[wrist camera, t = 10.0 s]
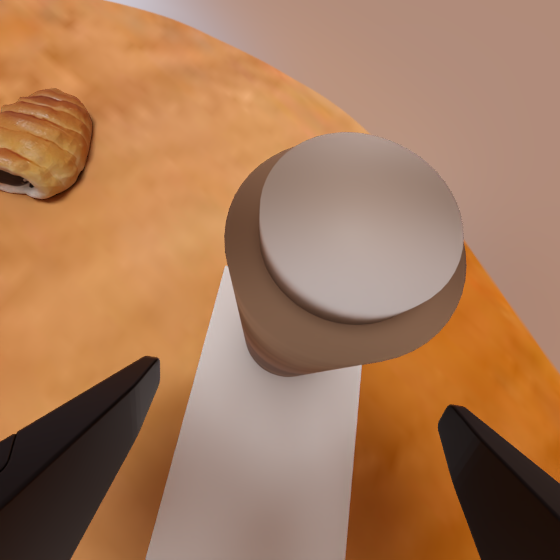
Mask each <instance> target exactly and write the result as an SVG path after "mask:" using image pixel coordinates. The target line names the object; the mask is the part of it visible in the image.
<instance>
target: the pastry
mask: <svg viewBox="0 0 560 560" xmlns="http://www.w3.org/2000/svg"><path fill="white" fill-rule="evenodd" d="M92 128H93V127H92V122H91V119H90V116H89V113H88V111H87V110H86V108H85V106H84V105H83V104H82V103H81V102H80V100H79V99H78V98H76V97H75V96H72V95H69V94H67V93H64V92H62V91H61V90H59V89H56V88H53V89H45V90H40V91H37V92H35V93H33V94H31V95H30V96H28V97H20V98H19V99H18V101H17V102H16V103H14V104H10V105H3V106H2V108H1V111H0V190H2V191H5V192H9V193H18V194H24V193H26V194H27V195H28V196H30V197H33V198H39V199H46V198H49V197H52V196H54V195H56V194H58V193H61V192H63V191H65V190H67V189H68V188H69V187H70V186H72V185H73V184H74V183H75V182H76V180H77V177H78V175H79V173H80V172H81V171H82V170H83V169H84V166H85V163H86V160H87V155H88V152H89V146H90V141H91V136H92Z"/></svg>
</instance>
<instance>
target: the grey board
mask: <svg viewBox="0 0 560 560" xmlns="http://www.w3.org/2000/svg"><path fill="white" fill-rule="evenodd" d="M361 368H362V365H358V366H352V367H346V368H341V369H335V370H329V371H323V372H317V373H312V374H306V375H300V376H294V377H283V376H277V375H274V374H272V373H269V372H267V371H266V370H264V369H263V368H261V367H260V366H259V365H258V364H257V363H256V362H255V361H254V359H253V358H252V356H251V355H250V353H249V351H248V348H247V345H246V341H245V337H244V333H243V329H242V324H241V320H240V316H239V311H238V307H237V303H236V299H235V294H234V290H233V286H232V281H231V277H230V273H229V269H228V266H225V269H224V272H223V276H222V280H221V283H220V287H219V291H218V294H217V298H216V302H215V305H214V309H213V313H212V316H211V320H210V324H209V327H208V331H207V335H206V338H205V342H204V346H203V349H202V353H201V357H200V360H199V364H198V368H197V371H196V375H195V379H194V383H193V386H192V390H191V394H190V397H189V401H188V405H187V408H186V412H185V416H184V419H183V423H182V427H181V430H180V434H179V438H178V441H177V445H176V449H175V452H174V456H173V460H172V463H171V467H170V471H169V474H168V478H167V482H166V485H165V489H164V493H163V497H162V500H161V504H160V508H159V511H158V515H157V519H156V522H155V526H154V530H153V533H152V537H151V541H150V544H149V548H148V552H147V555H146V559H145V560H345V555H346V543H347V532H348V520H349V508H350V497H351V485H352V473H353V462H354V450H355V438H356V427H357V415H358V403H359V392H360V380H361Z"/></svg>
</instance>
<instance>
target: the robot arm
mask: <svg viewBox="0 0 560 560" xmlns="http://www.w3.org/2000/svg"><path fill="white" fill-rule="evenodd" d="M159 382H160V360H159V358H157V357H151V356H144V357H142V358H140V359H139V360H137V361H135V362H134V363H132V364H130V365H129V366H127V367H125V368H124V369H122V370H120V371H119V372H117V373H115V374H114V375H112V376H110V377H108V378H107V379H105V380H103V381H102V382H100V383H98V384H97V385H95V386H93V387H92V388H90V389H88V390H87V391H85V392H83V393H82V394H80V395H78V396H77V397H75V398H73V399H71V400H70V401H68V402H66V403H65V404H63V405H61V406H60V407H58V408H56V409H55V410H53V411H51V412H50V413H48V414H46V415H45V416H43V417H41V418H40V419H38V420H36V421H34V422H33V423H31V424H29V425H28V426H26V427H24V428H23V429H21V430H19V431H18V432H17V434H12V435H11V436H9V437H7V438H6V439H4V440H2V441H1V442H0V560H70V559H71V557H72V555H73V553H74V552H75V550H76V548H77V546H78V544H79V542H80V541H81V539H82V537H83V535H84V533H85V531H86V530H87V528H88V526H89V524H90V522H91V520H92V519H93V517H94V515H95V513H96V511H97V509H98V508H99V506H100V504H101V502H102V500H103V498H104V496H105V495H106V493H107V491H108V489H109V487H110V485H111V484H112V482H113V480H114V478H115V476H116V474H117V473H118V471H119V469H120V467H121V465H122V463H123V462H124V460H125V458H126V456H127V454H128V452H129V451H130V449H131V447H132V445H133V443H134V441H135V439H136V437H137V435H138V433H139V431H140V429H141V426H142V424H143V422H144V419H145V417H146V414H147V412H148V410H149V407H150V405H151V402H152V400H153V398H154V395H155V393H156V390H157V388H158V386H159ZM438 431H439V435H440V439H441V442H442V446H443V450H444V453H445V457H446V461H447V464H448V468H449V472H450V475H451V479H452V482H453V485H454V488H455V491H456V494H457V496H458V499H459V502H460V504H461V507H462V510H463V512H464V515H465V518H466V520H467V523H468V526H469V529H470V531H471V534H472V537H473V539H474V542H475V545H476V547H477V550H478V553H479V555H480V558H481V560H560V484H559V483H558V482H557V481H556V480H555V479H553V478H552V477H551V476H550V475H548V474H547V473H546V472H545V471H543V470H542V469H541V468H540V467H538V466H537V465H536V464H535V463H533V462H532V461H531V460H530V459H528V458H527V457H526V456H525V455H523V454H522V453H521V452H520V451H519V450H517V449H516V448H515V447H514V446H512V445H511V444H510V443H509V442H507V441H506V440H505V439H504V438H502V437H501V436H500V435H499V434H497V433H496V432H495V431H494V430H493V429H491V428H490V427H489V426H488V425H486V424H485V423H484V422H483V421H481V420H480V419H479V418H478V417H476V416H475V415H474V414H473V413H471V412H470V411H469V410H468V409H466V408H465V407H463V406H459V405H452V404H451V405H449V406H447V408H446V410H445V411H444V413H443V415H442V417H441V418H440V420H439V423H438Z"/></svg>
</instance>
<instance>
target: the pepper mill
mask: <svg viewBox="0 0 560 560" xmlns="http://www.w3.org/2000/svg"><path fill="white" fill-rule="evenodd" d="M224 238H225V253H226V259H227V264H228V269H229V273H230V277H231V281H232V286H233V290H234V294H235V299H236V303H237V307H238V311H239V316H240V320H241V324H242V329H243V333H244V337H245V341H246V345H247V348H248V351H249V353H250V355H251V356H252V358H253V359H254V361H255V362H256V363H257V364H258V365H259V366H260V367H261V368H263V369H264V370H266V371H267V372H269V373H272V374H274V375H277V376H283V377H294V376H300V375H306V374H312V373H317V372H323V371H329V370H335V369H341V368H346V367H352V366H358V365H364V364H370V363H376V362H381V361H385V360H389V359H393V358H397V357H400V356H402V355H405V354H407V353H409V352H412V351H414V350H416V349H417V348H419V347H420V346H422V345H424V344H425V343H427V342H428V341H429V340H430V339H432V338H433V337H434V336H435V335H436V334H437V333H439V332H440V330H441V329H442V328H443V327H444V326H445V324H446V323H447V322H448V321H449V319H450V318H451V316H452V314H453V313H454V311H455V309H456V308H457V305H458V303H459V300H460V298H461V295H462V292H463V287H464V283H465V276H466V253H465V247H464V242H463V240H464V233H463V223H462V219H461V214H460V211H459V208H458V205H457V202H456V200H455V198H454V196H453V194H452V192H451V191H450V189H449V188H448V186H447V184H446V183H445V181H444V180H443V179H442V178H441V176H440V175H439V174H438V173H437V172H436V171H435V170H434V169H433V168H432V167H431V166H430V165H429V164H428V163H427V162H426V161H424V160H423V159H422V158H421V157H419V156H418V155H417V154H415V153H413V152H412V151H410V150H409V149H407V148H405V147H403V146H401V145H399V144H397V143H395V142H392V141H390V140H387V139H384V138H381V137H378V136H374V135H369V134H364V133H353V132H341V133H332V134H326V135H321V136H317V137H314V138H312V139H309V140H306V141H304V142H302V143H300V144H299V145H297V146H295V147H292V148H290V149H287V150H284V151H282V152H280V153H278V154H276V155H274V156H272V157H271V158H269V159H268V160H266V161H265V162H263V163H262V164H260V165H259V166H258V167H257V168H256V169H255V170H254V171H253V172H252V173H251V174H250V175H249V176H248V177H247V178H246V180H245V181H244V182H243V183H242V185H241V186H240V188H239V189H238V191H237V193H236V194H235V196H234V199H233V201H232V203H231V206H230V208H229V212H228V216H227V220H226V226H225V235H224Z"/></svg>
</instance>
